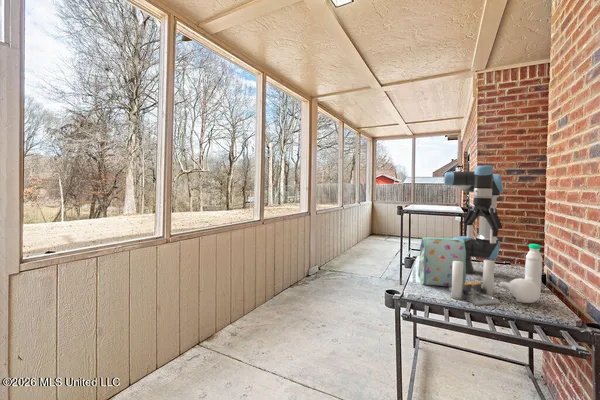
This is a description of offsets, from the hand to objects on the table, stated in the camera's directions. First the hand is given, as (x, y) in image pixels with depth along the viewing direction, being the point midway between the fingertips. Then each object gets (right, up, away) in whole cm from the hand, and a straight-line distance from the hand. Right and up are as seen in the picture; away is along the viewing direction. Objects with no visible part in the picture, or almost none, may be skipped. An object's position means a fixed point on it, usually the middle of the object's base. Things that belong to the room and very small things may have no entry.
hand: (480, 240), depth 134 cm
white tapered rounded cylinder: (-11, -29, +1) cm, 31 cm away
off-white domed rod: (+6, -29, +4) cm, 30 cm away
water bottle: (+39, -30, +16) cm, 51 cm away
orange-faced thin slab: (-2, -27, +3) cm, 27 cm away
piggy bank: (+20, -30, 0) cm, 36 cm away
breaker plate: (-2, -29, +3) cm, 29 cm away
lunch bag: (-8, -28, +22) cm, 37 cm away
